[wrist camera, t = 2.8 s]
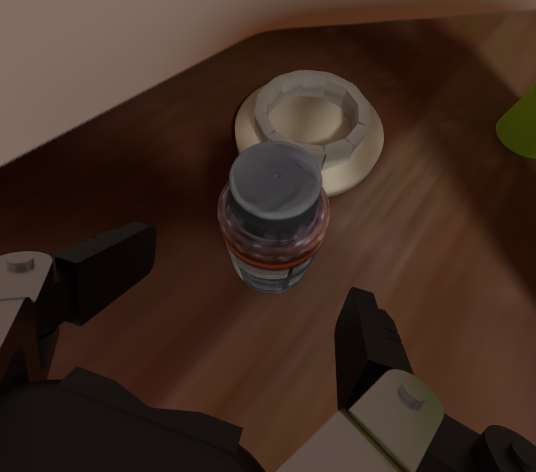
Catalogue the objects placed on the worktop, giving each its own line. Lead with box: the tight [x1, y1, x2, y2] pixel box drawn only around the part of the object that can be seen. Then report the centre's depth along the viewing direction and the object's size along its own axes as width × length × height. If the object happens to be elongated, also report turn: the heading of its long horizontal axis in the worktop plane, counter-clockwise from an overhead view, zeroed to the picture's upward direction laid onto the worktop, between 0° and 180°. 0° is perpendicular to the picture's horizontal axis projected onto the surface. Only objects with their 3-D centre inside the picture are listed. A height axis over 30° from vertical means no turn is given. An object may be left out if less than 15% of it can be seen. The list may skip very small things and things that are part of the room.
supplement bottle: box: [217, 141, 330, 294], centre depth 16 cm, size 6×6×11 cm
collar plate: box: [235, 70, 384, 197], centre depth 25 cm, size 14×14×4 cm
